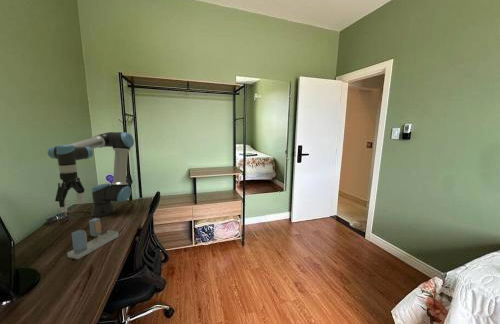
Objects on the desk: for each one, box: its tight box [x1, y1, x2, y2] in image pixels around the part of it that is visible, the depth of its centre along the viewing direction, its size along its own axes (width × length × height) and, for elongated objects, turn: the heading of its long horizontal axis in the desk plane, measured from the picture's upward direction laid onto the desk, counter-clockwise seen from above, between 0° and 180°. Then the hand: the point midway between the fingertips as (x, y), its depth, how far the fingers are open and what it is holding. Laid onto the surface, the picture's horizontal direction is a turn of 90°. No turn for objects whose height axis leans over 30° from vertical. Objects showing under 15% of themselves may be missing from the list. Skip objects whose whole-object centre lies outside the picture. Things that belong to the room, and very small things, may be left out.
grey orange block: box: [88, 217, 103, 238], centre depth 128 cm, size 5×4×10 cm
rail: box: [66, 229, 119, 260], centre depth 116 cm, size 24×7×12 cm, turn 166°
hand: (72, 207), depth 120 cm, fingers open, 13 cm apart
